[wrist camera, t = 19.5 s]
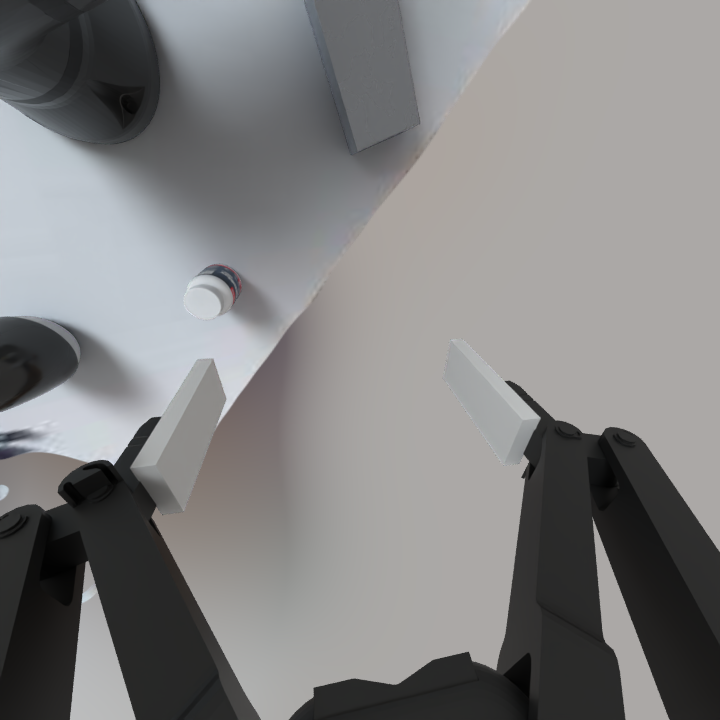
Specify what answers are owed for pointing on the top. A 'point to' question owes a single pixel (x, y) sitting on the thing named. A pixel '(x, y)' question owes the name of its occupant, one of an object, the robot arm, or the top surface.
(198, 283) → the pill bottle
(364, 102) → the sleeve
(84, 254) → the top surface
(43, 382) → the black egg shape
